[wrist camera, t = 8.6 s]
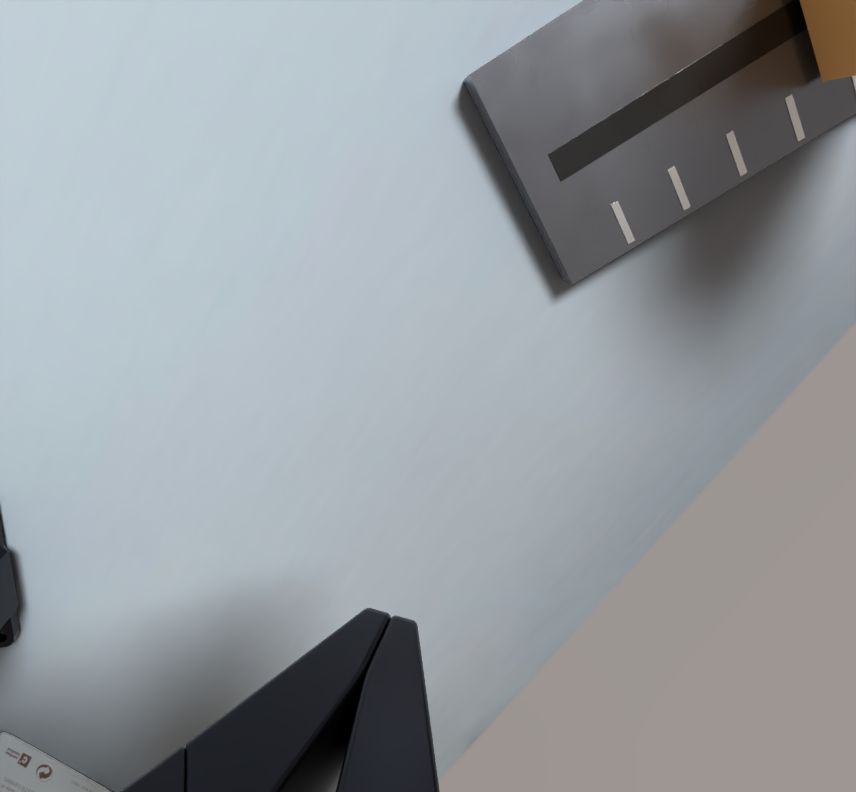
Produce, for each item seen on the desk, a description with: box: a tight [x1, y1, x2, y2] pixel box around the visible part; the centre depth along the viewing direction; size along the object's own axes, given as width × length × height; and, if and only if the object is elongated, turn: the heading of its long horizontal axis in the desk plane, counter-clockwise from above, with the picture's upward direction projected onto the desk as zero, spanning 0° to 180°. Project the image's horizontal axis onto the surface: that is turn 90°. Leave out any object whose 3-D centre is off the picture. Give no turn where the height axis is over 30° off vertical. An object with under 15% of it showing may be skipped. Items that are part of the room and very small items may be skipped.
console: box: [463, 0, 856, 284], centre depth 18 cm, size 12×7×1 cm, turn 121°
